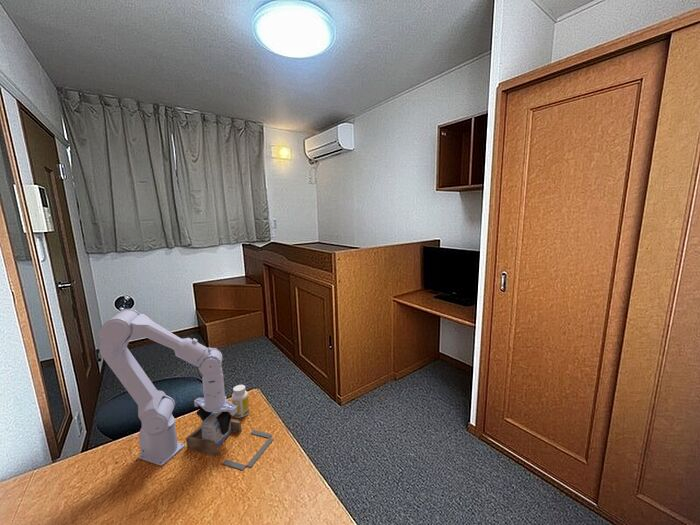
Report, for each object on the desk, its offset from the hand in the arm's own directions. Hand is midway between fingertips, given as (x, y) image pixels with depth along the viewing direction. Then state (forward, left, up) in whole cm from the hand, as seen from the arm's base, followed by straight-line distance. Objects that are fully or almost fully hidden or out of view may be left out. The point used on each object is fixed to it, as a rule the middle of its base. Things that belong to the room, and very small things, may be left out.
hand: (217, 430), depth 93 cm
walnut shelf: (-1, 0, -3) cm, 4 cm away
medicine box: (0, 0, -4) cm, 4 cm away
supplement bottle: (-2, +13, -4) cm, 14 cm away
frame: (+11, 0, -3) cm, 12 cm away
